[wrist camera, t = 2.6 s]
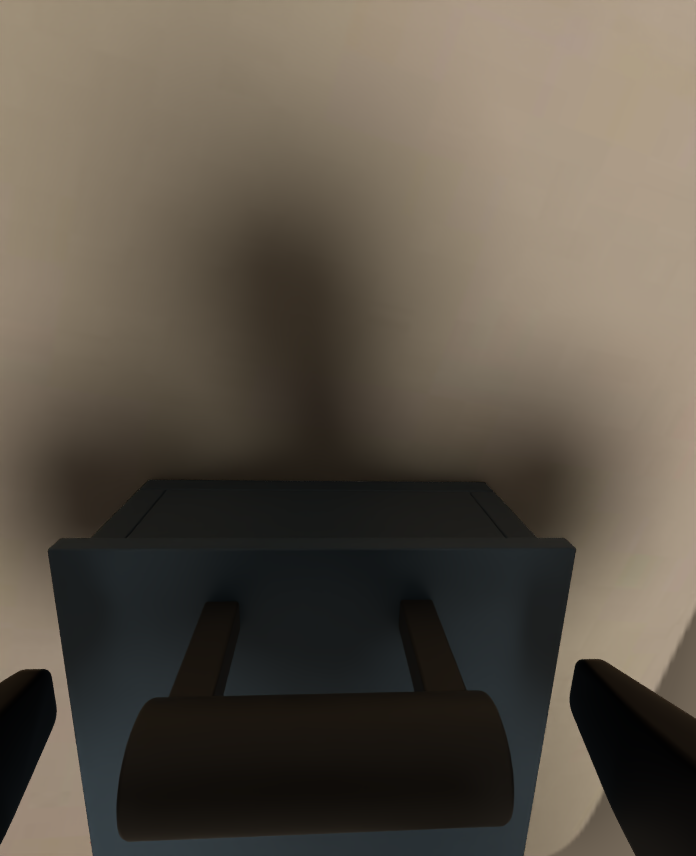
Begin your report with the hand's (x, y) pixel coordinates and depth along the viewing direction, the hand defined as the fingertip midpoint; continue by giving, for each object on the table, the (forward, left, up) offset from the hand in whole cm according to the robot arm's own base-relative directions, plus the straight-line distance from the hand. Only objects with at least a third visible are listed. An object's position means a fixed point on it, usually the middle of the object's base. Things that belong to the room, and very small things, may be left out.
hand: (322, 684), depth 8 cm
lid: (-3, 0, -2) cm, 4 cm away
